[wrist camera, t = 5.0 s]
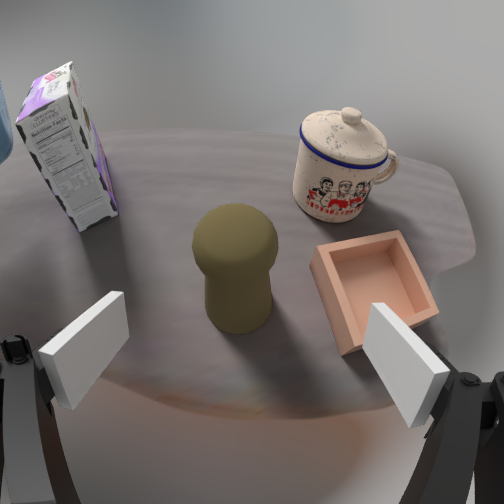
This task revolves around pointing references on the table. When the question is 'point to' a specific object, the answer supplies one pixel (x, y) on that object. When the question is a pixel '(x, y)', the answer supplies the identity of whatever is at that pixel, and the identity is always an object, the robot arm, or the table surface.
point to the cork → (236, 266)
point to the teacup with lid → (339, 164)
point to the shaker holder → (369, 285)
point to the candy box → (67, 147)
